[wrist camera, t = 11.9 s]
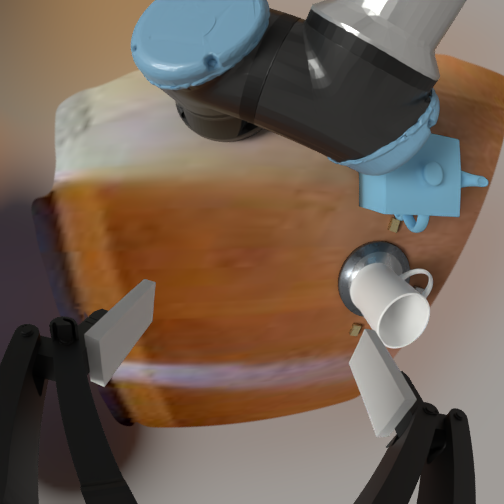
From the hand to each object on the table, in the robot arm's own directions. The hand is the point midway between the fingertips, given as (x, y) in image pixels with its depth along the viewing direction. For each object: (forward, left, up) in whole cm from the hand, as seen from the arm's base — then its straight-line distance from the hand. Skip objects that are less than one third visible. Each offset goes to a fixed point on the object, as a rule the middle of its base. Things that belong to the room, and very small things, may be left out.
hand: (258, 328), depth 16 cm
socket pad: (+2, +22, -27) cm, 34 cm away
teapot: (-16, +20, -27) cm, 37 cm away
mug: (+2, +21, -26) cm, 33 cm away
